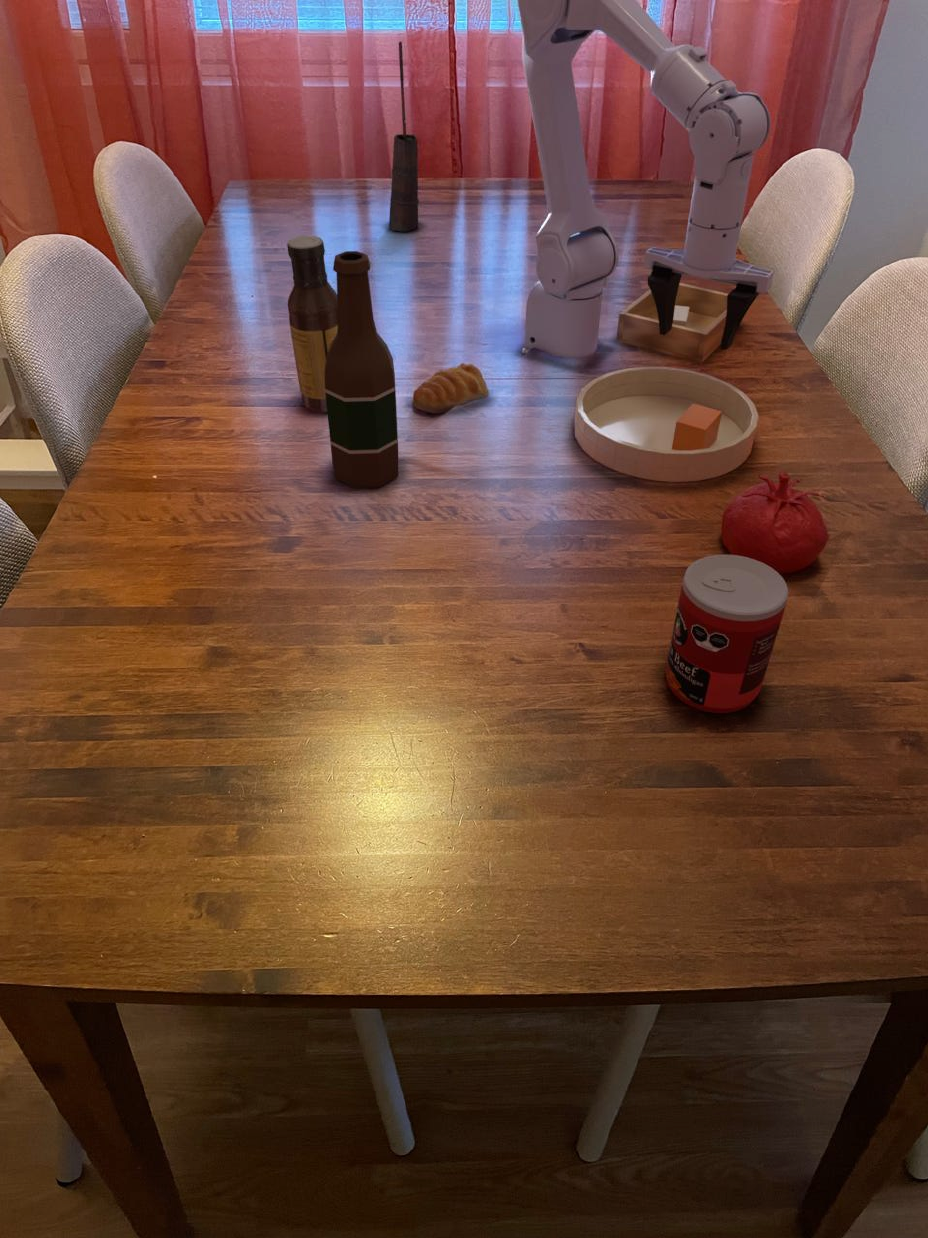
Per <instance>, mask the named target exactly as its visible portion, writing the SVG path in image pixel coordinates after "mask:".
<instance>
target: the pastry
mask: <svg viewBox="0 0 928 1238" xmlns="http://www.w3.org/2000/svg"><path fill="white" fill-rule="evenodd" d="M412 394H413V395H412V406H414V407H415V408H416V409H419V410H421V411H424V412H427V413H431V414H434V415H435V414H443V413H446V412H450V411H451V410H452V409H453V408H455V407H457V406H462V405H464V404H467V403H469V402H473V401H475V400H478V399H481V398H485V397H487V396H489V388H488V386H487V383H486V380H485V379H484V376H483V373H482V372H481V370H480V369H479V368H478V367H477V366H475V365H474V364H472V363H468V364H467V363H466V364H465V363H463V362H462V363H460V364H459V365H457V366H455V367H450V368H446V369H441V370H439V371H436V372H435V373H434V375H432V376H431V377H430V378H428V379H427V380H426V381H424V382H423V383H422V384H420V385H419V386H418V387H417V388H416V389H415V390H414V391H413V393H412Z"/></svg>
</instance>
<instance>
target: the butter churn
mask: <svg viewBox="0 0 928 1238" xmlns="http://www.w3.org/2000/svg"><path fill="white" fill-rule="evenodd" d="M403 58H404V57H403V42H402V41H401V40H400V41H399V42H398V59H399V60H398V61H399V80H400V95H401V98H400V99H401V120H402V121H401V122H402V134H401V133H400V134H399V133H397V134H395V135H394V137H393V152H392V168H391V189H390V203H389V216H388V217H389V218H388V219H389V220H388V227H390V229H391V231H396V232H405V233H407V232H410V231H412V230H416V229H417V228H419V203H420V201H419V200H420V199H419V151H418V150H419V147H418V141H419V140H418V137H417V136H416V134H414V133H413V134H409V133H408V134H407V123H406V120H407V118H406V107H405V105H406V104H405V103H406V102H405V87H404V86H405V84H404V80H405V79H404V61H403V60H404V59H403Z"/></svg>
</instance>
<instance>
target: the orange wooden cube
mask: <svg viewBox="0 0 928 1238" xmlns="http://www.w3.org/2000/svg"><path fill="white" fill-rule="evenodd" d="M721 415H722V411H719V410H715V409H711V408H708V407H704V406H701V405H697V404H692V406H691V407H690V408H689V409H688V410H687V411H686V412H685V413H684V414H683V415H682V416H681V417H680V418H679V419H678V420H677V421H676V426H675V432H674V438H673V444H672V449H675V450H682V451H691V450H699V449H708V448H709V447H710V446H711V444H712V443H713V442H714V441H715V440H716V439H717V435H718V430H719V425H720V420H721Z"/></svg>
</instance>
